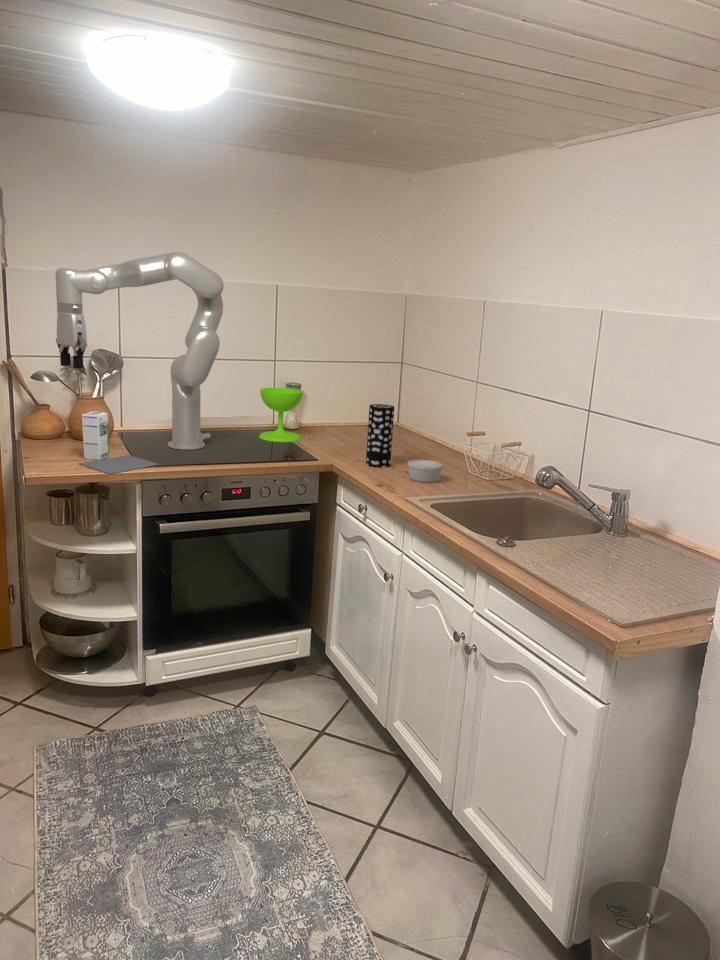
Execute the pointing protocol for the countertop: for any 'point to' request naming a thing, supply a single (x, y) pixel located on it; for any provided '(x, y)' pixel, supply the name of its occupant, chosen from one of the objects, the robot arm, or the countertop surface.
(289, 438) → the wineglass
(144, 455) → the countertop surface
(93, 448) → the syrup box
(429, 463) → the ramekin
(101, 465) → the mat
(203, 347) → the robot arm
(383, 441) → the spotted tube
